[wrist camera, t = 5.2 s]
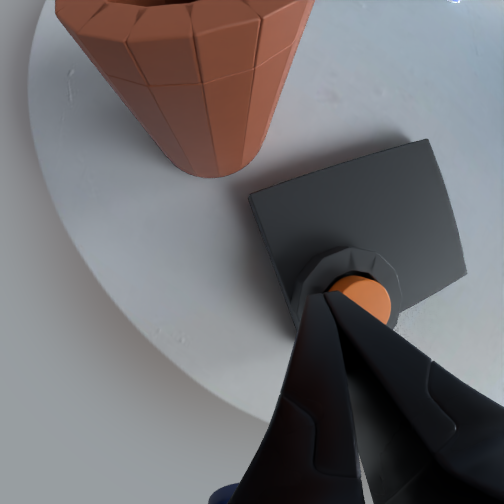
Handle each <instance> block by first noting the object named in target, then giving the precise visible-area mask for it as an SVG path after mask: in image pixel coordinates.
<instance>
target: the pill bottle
mask: <svg viewBox="0 0 504 504" xmlns="http://www.w3.org/2000/svg"><path fill="white" fill-rule="evenodd" d="M447 1H449V2H452V3H458V2H459V1H461V0H447Z"/></svg>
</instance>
